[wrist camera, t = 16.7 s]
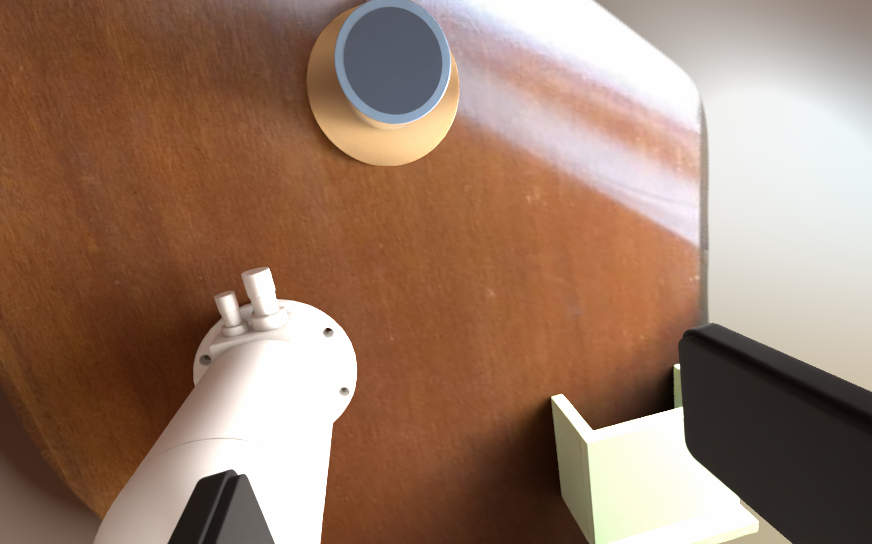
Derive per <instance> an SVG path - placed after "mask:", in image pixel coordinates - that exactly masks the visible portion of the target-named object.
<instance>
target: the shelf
mask: <svg viewBox="0 0 872 544" xmlns="http://www.w3.org/2000/svg"><path fill="white" fill-rule="evenodd" d="M551 402H552V411H553V420H554V429H555V439H556V448H557V457H558V466H559V476H560V485H561V494H562V498H563V500H564V501H565V503H566V505H567V506H568V508H569V510H570V512H571V513H572V515H573V517H574V518H575V520H576V522H577V524H578V525H579V527H580V529H581V530H582V532H583V534H584V536H585V537H586V539H587V541H588V542H589V544H719V543H722V542H725V541H728V540H732V539H735V538H738V537H741V536H745V535H748V534H751V533H754V532H757V531H758V521H757V520H756V519H755V518H754V517H753V516H752V515H751V514H750V513H749V512H748V511H747V510H746V509H745V508H744V507H742V506H741V505H740V504H739V502H740V498H739V497H738V496H737V495H736V494H735V493H733V492H732V491H731V490H730V489H729V488H728V487H726V486H725V485H724V484H723V483H722V482H721V481H720V480H718V479H717V478H716V477H715V476H714V475H713V474H711V473H710V472H709V471H708V470H707V469H706V468H704V467H703V466H702V465H701V464H700V463H699V462H698V461H696V460H695V459H694V458H693V457H692V455H691V454H690V453H689V451H688V449H687V447H686V444H685V437H684V422H683V407H682V393H681V378H680V364H678V365H674V409H673V410H669V411H666V412H662V413H658V414H654V415H651V416H647V417H643V418H639V419H636V420H632V421H628V422H624V423H621V424H617V425H613V426H609V427H605V428H602V429H598V430H594V431H593V430H592V429H591V428H590V427H589V425H588V424H587V423H586V422H585V421H584V419H583V418H582V417H581V416H580V415H579V413H578V412H577V411H576V410H575V409H574V407H573V406H572V405H571V404H570V403H569V401H568V400H567V399H566V398H565V397H564V395H563V394H560V395H556V396H552V397H551Z"/></svg>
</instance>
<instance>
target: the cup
mask: <svg viewBox="0 0 872 544" xmlns="http://www.w3.org/2000/svg"><path fill="white" fill-rule="evenodd" d="M334 64H335V70H336V74H337V78H338V81H339V84H340V88H341V91H342V94H343V97H344V99H345V102H346V104H347V106H348V107H349V109H350V110H351V112H352V113H353V114H354V115H355V116H356V117H357V118H358V119H359V120H360V121H361V122H363V123H364V124H366V125H368V126H370V127H372V128H375V129H378V130H386V131H390V130H397V129H401V128H403V127H406V126H407V125H409V124H411V123H413V122H414V121H416V120H418V119H420V118H421V117H423V116H425V115H426V114H427V113H429V112H430V111H431V110H432V109H433V108H434V107H435V106H436V105H437V104H438V102H439V101H440V100H441V98H442V96H443V95H444V93H445V91H446V88H447V86H448V82H449V78H450V72H451V56H450V50H449V45H448V42H447V39H446V37H445V35H444V32H443V30H442V29H441V27H440V26H439V24H438V23H437V21H436V20H435V19H434V18H433V16H432V15H431V14H429V13H428V12H427V11H426V10H425V9H424V8H422V7H421V6H419V5H417V4H416V3H414V2H412V1H409V0H370V1H368V2H366V3H364V4H362V5H360V6H359V7H358V8H356V9H355V10H354V11H353V12H352V13H351V14H350V15H349V16H348V17H347V19H346V20H345V22H344V23H343V25H342V27H341V29H340V31H339V34H338V36H337V40H336V44H335V52H334Z"/></svg>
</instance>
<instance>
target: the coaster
mask: <svg viewBox="0 0 872 544" xmlns="http://www.w3.org/2000/svg"><path fill="white" fill-rule="evenodd" d="M359 6H360V5H358V6H356V7H353V8H350V9H348V10H346V11H345V12H343V13H341V14H340V15H338V16H337V17H336V18H334V19H333V20H332V21H331V22H330V23H329V24H328V25H327V26H326V27H325V28H324V30H323V31H322V32H321V34H320V35H319V37H318V38H317V40H316V42H315V44H314V46H313V49H312V51H311V54H310V57H309V62H308V67H307V78H306V80H307V93H308V98H309V103H310V106H311V109H312V112H313V114H314V117H315V119H316V121H317V123H318V124H319V126H320V128H321V129H322V131H323V132H324V134H325V135H326V136H327V137H328V139H329V140H330V141H331V142H332V143H333V144H334V145H335V146H336V147H338V148H339V149H340V150H341V151H343V152H344V153H346V154H347V155H349V156H351V157H352V158H354V159H357V160H359V161H361V162H364V163H368V164H371V165H378V166H396V165H402V164H406V163H409V162H412V161H414V160H417V159H419V158H421V157H422V156H424V155H426V154H427V153H428V152H430V151H431V150H432V149H433V148H434V147H435V146H436V145H437V144H438V143H439V142H440V141H441V140H442V139H443V137H444V136H445V135H446V133H447V131H448V130H449V128H450V126H451V124H452V122H453V119H454V117H455V114H456V110H457V106H458V100H459V77H458V72H457V67H456V63H455V60H454V57H453V55H452V53H451V50H450V48H449V50H450V56H451V72H450V78H449V82H448V86H447V88H446V91H445V93H444V95H443V96H442V98H441V100H440V101H439V102H438V104H437V105H436V106H435V107H434V108H433V109H432V110H431V111H430V112H429V113H427V114H426V115H425V116H423V117H421V118H420V119H418V120H416V121H414V122H413V123H411V124H409V125H407V126H406V127H403V128H401V129H397V130H390V131H386V130H378V129H375V128H372V127H370V126H368V125H366V124H364V123H363V122H361V121H360V120H359V119H358V118H357V117H356V116H355V115H354V114H353V113H352V112H351V110H350V109H349V107H348V106H347V104H346V102H345V99H344V97H343V94H342V91H341V88H340V84H339V81H338V78H337V74H336V70H335V64H334V52H335V44H336V40H337V36H338V34H339V31H340V29H341V27H342V25H343V23H344V22H345V20H346V19H347V17H348V16H349V15H350V14H351V13H352V12H353V11H354V10H355V9H356V8H358V7H359Z"/></svg>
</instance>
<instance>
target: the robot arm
mask: <svg viewBox="0 0 872 544" xmlns="http://www.w3.org/2000/svg"><path fill="white" fill-rule="evenodd" d="M241 277H242V280H243V283H244V286H245V289H246V292H247V295H248V298H250V300H251V303H249V304H245V305H243V306H241V307H239V305H238V302H237V299H236V296H235V292H234V291H226V292H222V293H220V294H217V295H215V296H214V299H215V302H216V305H217V308H218V310H219V313H220V314H221V316H222V318H221V319H220V320H219V321H218V322H217V323H216V324H215V325H214V326H213V327H212V328H211V329H210V330H209V332H208V333H207V335H206V336H205V337H204V339H203V340H202V342H201V344H200V346H199V348H198V350H197V353H196V356H195V361H194V366H193V377H194V385H195V388H194V389H193V390H192V392H191V393H190V395H189V396H188V397H187V399H186V400H185V402H184V403H183V405H182V406H181V407H180V409H179V410H178V412H177V413H176V414H175V416H174V417H173V419H172V420H171V421H170V423H169V424H168V426H167V427H166V429H165V430H164V431H163V433H162V434H161V436H160V437H159V438H158V440H157V441H156V443H155V444H154V446H153V447H152V448H151V450H150V451H149V453H148V454H147V455H146V457H145V458H144V460H143V461H142V462H141V464H140V465H139V467H138V468H137V470H136V471H135V472H134V474H133V475H132V477H131V478H130V479H129V481H128V482H127V483H126V485H125V486H124V488H123V489H122V490H121V492H120V493H119V495H118V496H117V498H116V499H115V501H114V502H113V503H112V505H111V507H110V509H109V510H108V512H107V514H106V516H105V517H104V519H103V521H102V523H101V525H100V528H99V530H98V533H97V535H96V538H95V540H94V543H93V544H320V538H321V528H322V517H323V510H324V501H325V491H326V482H327V472H328V462H329V453H330V443H331V434H332V424H333V422H334V421H335V420H336V419H337V418H338V417H339V416H340V415H341V414H342V413H343V411H344V410H345V408H346V407H347V405H348V404H349V402H350V400H351V398H352V395H353V393H354V389H355V384H356V378H357V365H356V358H355V353H354V350H353V347H352V345H351V342H350V340H349V339H348V337H347V335H346V334H345V332H344V331H343V329H342V328H341V327H340V326H339V325H338V324H337V323H336V322H335V321H334V320H333V319H332V318H330V317H329V316H328V315H326V314H325V313H323V312H322V311H320V310H318V309H316V308H314V307H312V306H310V305H307V304H304V303H300V302H296V301H292V300H282V299H276V296H275V293H274V292H275V286H274V283H273V280H272V276H271V273H270V270H269V267H260V268H255V269H251V270H248V271H246V272H244V273H242V274H241ZM326 328H331V329H332V330H331V331H327V330H326ZM678 349H679V364H680V378H681V393H682V407H683V422H684V437H685V444H686V447H687V449H688V451H689V453H690V454H691V455H692V457H693V458H694V459H695V460H696V461H698V462H699V463H700V464H701V465H702V466H703V467H704V468H706V469H707V470H708V471H709V472H710V473H711V474H713V475H714V476H715V477H716V478H717V479H718V480H720V481H721V482H722V483H723V484H724V485H725V486H726V487H728V488H729V489H730V490H731V491H732V492H733V493H735V494H736V495H737V496H738V497H739V498H740V499H742V500H743V501H744V502H745V503H746V504H747V505H749V506H750V507H751V508H752V509H753V510H755V512H757V513H758V514H759V515H760V516H761V517H762V518H764V519H765V520H766V521H767V522H768V523H769V524H771V525H772V526H773V527H774V528H775V529H776V530H777V531H779V532H780V533H781V534H782V535H783V536H784V537H786V538H787V539H788V540H789V541H790V542H791V543H793V544H872V392H871V391H868V390H866V389H864V388H862V387H859V386H857V385H855V384H852V383H850V382H848V381H846V380H843V379H841V378H839V377H837V376H834V375H832V374H830V373H827V372H825V371H823V370H820V369H818V368H816V367H814V366H812V365H809V364H807V363H805V362H802V361H800V360H798V359H796V358H793V357H791V356H789V355H787V354H784V353H782V352H780V351H777V350H775V349H773V348H771V347H768V346H766V345H764V344H762V343H759V342H757V341H755V340H752V339H750V338H748V337H745V336H743V335H741V334H739V333H736V332H734V331H732V330H730V329H727V328H725V327H723V326H721V325H718V324H715V323H709V324H705V325H702V326H699V327H696V328H692V329H689V330H687V331H685V332H684V334H683V339H681V340H680V341H679V345H678ZM206 355H208V356H210V358H209V357H207V356H206ZM343 387H346V389H343Z"/></svg>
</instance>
